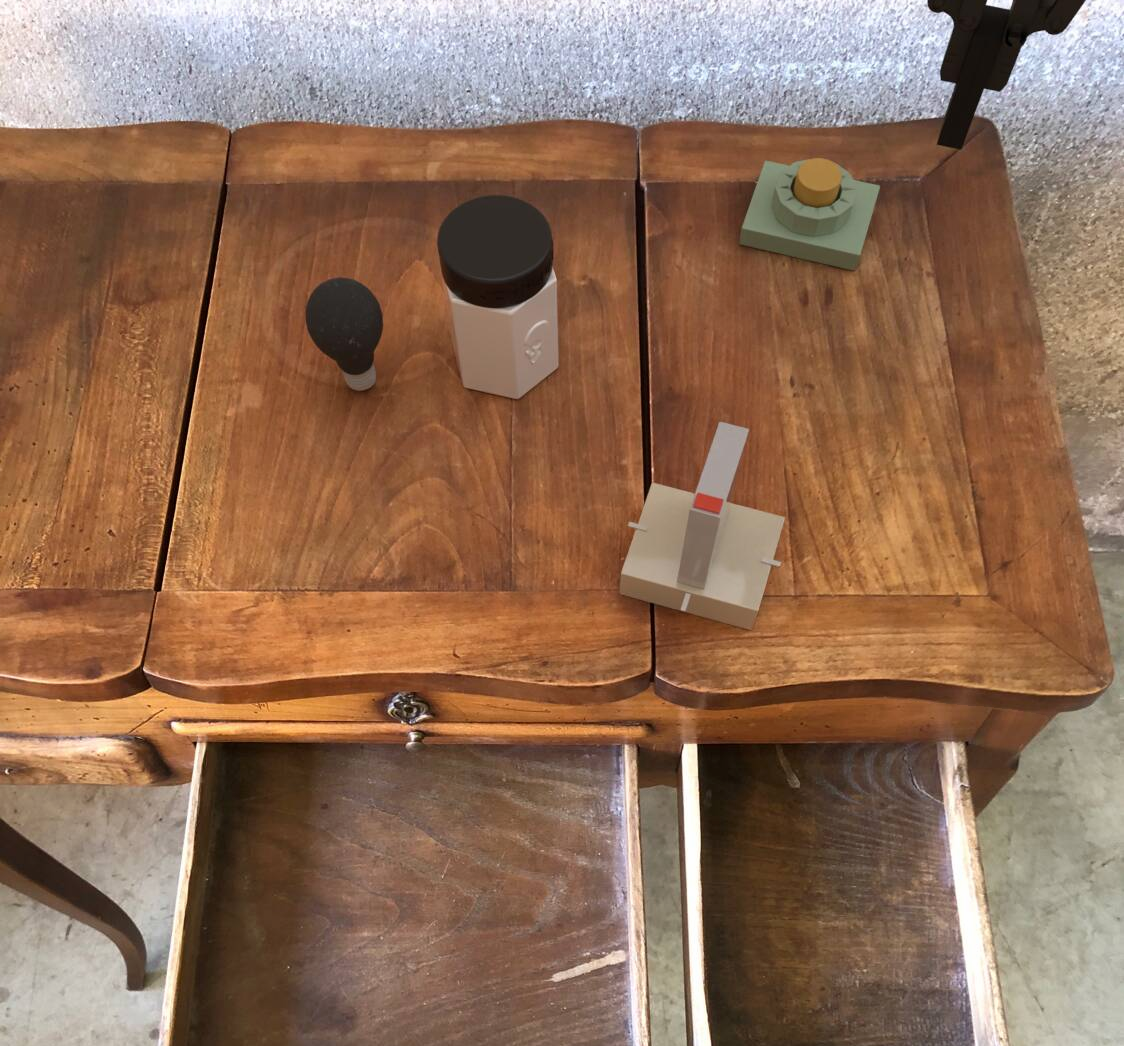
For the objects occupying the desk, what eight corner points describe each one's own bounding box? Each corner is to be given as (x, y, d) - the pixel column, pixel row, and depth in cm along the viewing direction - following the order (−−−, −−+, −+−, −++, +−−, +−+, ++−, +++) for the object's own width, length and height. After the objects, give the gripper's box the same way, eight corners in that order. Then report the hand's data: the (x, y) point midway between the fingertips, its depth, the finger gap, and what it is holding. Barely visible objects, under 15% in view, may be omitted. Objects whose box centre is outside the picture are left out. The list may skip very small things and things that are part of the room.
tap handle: (703, 500, 76) (719, 418, 67) (730, 508, 76) (750, 426, 67) (676, 581, 74) (689, 507, 65) (704, 589, 73) (721, 515, 65)
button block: (875, 202, 90) (886, 166, 86) (855, 271, 87) (866, 237, 84) (761, 177, 91) (768, 141, 88) (738, 244, 88) (744, 209, 85)
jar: (499, 419, 82) (487, 304, 71) (430, 359, 84) (408, 239, 73) (580, 354, 84) (581, 233, 73) (511, 298, 87) (501, 172, 75)
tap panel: (790, 523, 79) (799, 499, 76) (754, 652, 75) (761, 632, 72) (647, 486, 80) (650, 461, 77) (604, 610, 76) (605, 589, 73)
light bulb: (313, 386, 84) (280, 291, 74) (364, 345, 85) (338, 246, 76) (361, 425, 82) (333, 334, 73) (412, 383, 84) (391, 287, 74)
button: (841, 181, 86) (846, 163, 85) (831, 213, 85) (836, 194, 84) (798, 172, 87) (803, 153, 85) (788, 203, 86) (792, 185, 84)
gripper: (965, -391, 41) (832, 152, 63) (1315, -341, 39) (1052, 199, 61) (999, -485, 43) (860, 68, 65) (1329, -442, 42) (1071, 111, 63)
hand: (953, 131), depth 63 cm, fingers closed
